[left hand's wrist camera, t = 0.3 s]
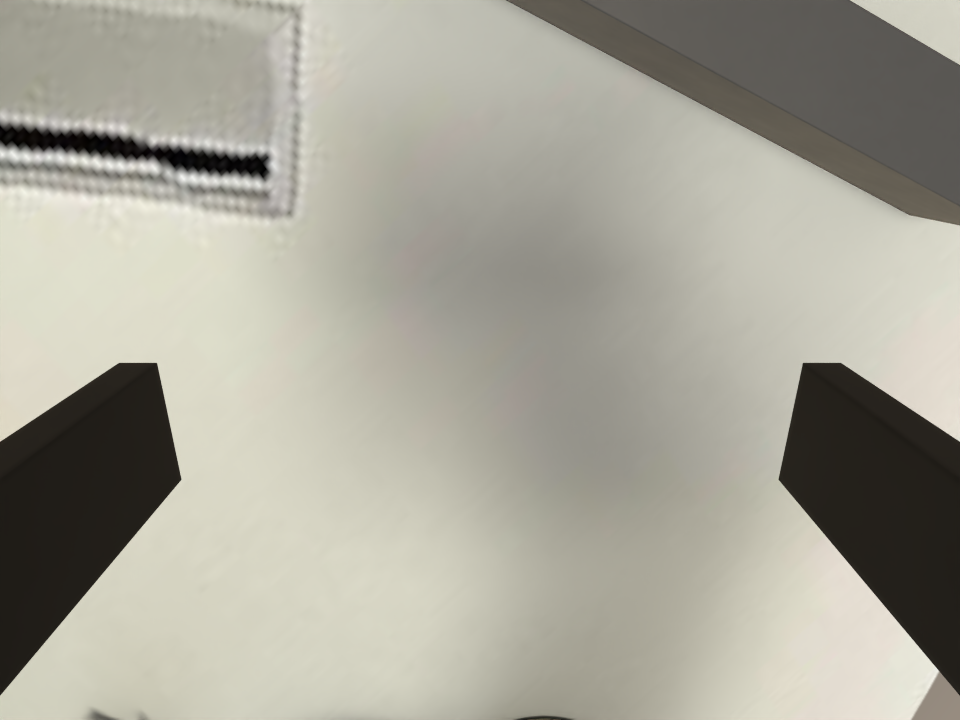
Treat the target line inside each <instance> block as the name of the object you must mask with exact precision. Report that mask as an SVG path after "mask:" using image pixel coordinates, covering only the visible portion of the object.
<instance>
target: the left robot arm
mask: <svg viewBox="0 0 960 720" xmlns="http://www.w3.org/2000/svg"><path fill="white" fill-rule="evenodd" d="M180 481H181V475H180V471H179V466H178V461H177V456H176V452H175V447H174V442H173V437H172V433H171V428H170V423H169V418H168V413H167V409H166V404H165V399H164V394H163V390H162V385H161V380H160V375H159V371H158V366H157V363H118V364H117V365H115V366H114V367H112V368H111V369H109V370H108V371H106V372H105V373H103V374H102V375H100V376H99V377H97V378H96V379H94V380H93V381H91V382H90V383H88V384H87V385H85V386H84V387H82V388H81V389H79V390H78V391H76V392H75V393H73V394H72V395H70V396H69V397H67V398H66V399H64V400H63V401H61V402H60V403H58V404H57V405H55V406H54V407H52V408H51V409H49V410H48V411H46V412H45V413H43V414H42V415H40V416H39V417H37V418H35V419H34V420H32V421H31V422H29V423H28V424H26V425H25V426H23V427H22V428H20V429H19V430H17V431H16V432H14V433H13V434H11V435H10V436H8V437H7V438H5V439H4V440H2V441H1V442H0V695H1V694H2V693H3V692H4V690H5V689H6V688H7V687H8V686H9V684H10V683H11V682H12V681H13V680H14V678H15V677H16V676H17V675H18V674H19V672H20V671H21V670H22V669H23V668H24V667H25V665H26V664H27V663H28V662H29V661H30V659H31V658H32V657H33V656H34V655H35V653H36V652H37V651H38V650H39V649H40V647H41V646H42V645H43V644H44V643H45V641H46V640H47V639H48V638H49V637H50V636H51V634H52V633H53V632H54V631H55V630H56V628H57V627H58V626H59V625H60V624H61V622H62V621H63V620H64V619H65V618H66V616H67V615H68V614H69V613H70V612H71V611H72V609H73V608H74V607H75V606H76V605H77V603H78V602H79V601H80V600H81V599H82V597H83V596H84V595H85V594H86V593H87V591H88V590H89V589H90V588H91V587H92V585H93V584H94V583H95V582H96V581H97V580H98V578H99V577H100V576H101V575H102V574H103V572H104V571H105V570H106V569H107V568H108V566H109V565H110V564H111V563H112V562H113V560H114V559H115V558H116V557H117V556H118V555H119V553H120V552H121V551H122V550H123V549H124V547H125V546H126V545H127V544H128V543H129V541H130V540H131V539H132V538H133V537H134V535H135V534H136V533H137V532H138V531H139V530H140V528H141V527H142V526H143V525H144V524H145V522H146V521H147V520H148V519H149V518H150V516H151V515H152V514H153V513H154V512H155V510H156V509H157V508H158V507H159V506H160V504H161V503H162V502H163V501H164V500H165V499H166V497H167V496H168V495H169V494H170V493H171V491H172V490H173V489H174V488H175V487H176V485H177V484H178V483H179V482H180ZM779 481H780V482H781V483H782V484H783V485H784V487H785V488H786V489H787V490H788V491H789V493H790V494H791V495H792V496H793V497H794V499H795V500H796V501H797V502H798V503H799V504H800V506H801V507H802V508H803V509H804V510H805V512H806V513H807V514H808V515H809V516H810V518H811V519H812V520H813V521H814V522H815V524H816V525H817V526H818V527H819V528H820V530H821V531H822V532H823V533H824V534H825V535H826V537H827V538H828V539H829V540H830V541H831V543H832V544H833V545H834V546H835V547H836V549H837V550H838V551H839V552H840V553H841V555H842V556H843V557H844V558H845V559H846V560H847V562H848V563H849V564H850V565H851V566H852V568H853V569H854V570H855V571H856V572H857V574H858V575H859V576H860V577H861V578H862V580H863V581H864V582H865V583H866V584H867V585H868V587H869V588H870V589H871V590H872V591H873V593H874V594H875V595H876V596H877V597H878V599H879V600H880V601H881V602H882V603H883V605H884V606H885V607H886V608H887V609H888V611H889V612H890V613H891V614H892V615H893V616H894V618H895V619H896V620H897V621H898V622H899V624H900V625H901V626H902V627H903V628H904V630H905V631H906V632H907V633H908V634H909V636H910V637H911V638H912V639H913V640H914V641H915V643H916V644H917V645H918V646H919V647H920V649H921V650H922V651H923V652H924V653H925V655H926V656H927V657H928V658H929V659H930V661H931V662H932V663H933V664H934V665H935V667H936V668H937V669H938V670H939V671H940V672H941V674H942V675H943V676H944V677H945V678H946V680H947V681H948V682H949V683H950V684H951V686H952V687H953V688H954V689H955V690H956V692H957V693H958V694H959V695H960V442H959V441H958V440H956V439H955V438H953V437H952V436H950V435H949V434H947V433H946V432H944V431H943V430H941V429H940V428H938V427H937V426H935V425H934V424H932V423H931V422H929V421H928V420H926V419H925V418H923V417H921V416H920V415H918V414H917V413H915V412H914V411H912V410H911V409H909V408H908V407H906V406H905V405H903V404H902V403H900V402H899V401H897V400H896V399H894V398H893V397H891V396H890V395H888V394H887V393H885V392H884V391H882V390H881V389H879V388H878V387H876V386H875V385H873V384H872V383H870V382H869V381H867V380H866V379H864V378H863V377H861V376H860V375H858V374H857V373H855V372H854V371H852V370H851V369H849V368H848V367H846V366H845V365H843V364H842V363H803V366H802V371H801V375H800V380H799V385H798V390H797V394H796V399H795V404H794V409H793V413H792V418H791V423H790V428H789V432H788V437H787V442H786V447H785V452H784V456H783V461H782V466H781V471H780V475H779ZM529 720H559V719H529Z"/></svg>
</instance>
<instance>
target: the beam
mask: <svg viewBox="0 0 960 720" xmlns="http://www.w3.org/2000/svg"><path fill="white" fill-rule="evenodd" d="M507 1H509V2H511V3H513V4H515V5H517V6H519V7H520V8H522V9H524V10H526V11H528V12H530V13H532V14H534V15H535V16H537V17H539V18H541V19H543V20H545V21H547V22H549V23H550V24H552V25H554V26H556V27H558V28H560V29H562V30H564V31H565V32H567V33H569V34H571V35H573V36H575V37H577V38H579V39H580V40H582V41H584V42H586V43H588V44H590V45H592V46H594V47H595V48H597V49H599V50H601V51H603V52H605V53H607V54H609V55H611V56H612V57H614V58H616V59H618V60H620V61H622V62H624V63H626V64H627V65H629V66H631V67H633V68H635V69H637V70H639V71H641V72H642V73H644V74H646V75H648V76H650V77H652V78H654V79H656V80H657V81H659V82H661V83H663V84H665V85H667V86H669V87H671V88H672V89H674V90H676V91H678V92H680V93H682V94H684V95H686V96H687V97H689V98H691V99H693V100H695V101H697V102H699V103H701V104H702V105H704V106H706V107H708V108H710V109H712V110H714V111H716V112H718V113H719V114H721V115H723V116H725V117H727V118H729V119H731V120H733V121H734V122H736V123H738V124H740V125H742V126H744V127H746V128H748V129H749V130H751V131H753V132H755V133H757V134H759V135H761V136H763V137H764V138H766V139H768V140H770V141H772V142H774V143H776V144H778V145H779V146H781V147H783V148H785V149H787V150H789V151H791V152H793V153H794V154H796V155H798V156H800V157H802V158H804V159H806V160H808V161H809V162H811V163H813V164H815V165H817V166H819V167H821V168H823V169H824V170H826V171H828V172H830V173H832V174H834V175H836V176H838V177H840V178H841V179H843V180H845V181H847V182H849V183H851V184H853V185H855V186H856V187H858V188H860V189H862V190H864V191H866V192H868V193H870V194H871V195H873V196H875V197H877V198H879V199H881V200H883V201H885V202H886V203H888V204H890V205H892V206H894V207H896V208H898V209H900V210H901V211H903V212H905V213H907V214H909V215H912V216H917V217H922V218H927V219H932V220H936V221H941V222H946V223H951V224H956V225H960V65H959V64H957V63H955V62H954V61H952V60H950V59H948V58H947V57H945V56H943V55H942V54H940V53H938V52H937V51H935V50H933V49H931V48H930V47H928V46H926V45H925V44H923V43H921V42H920V41H918V40H916V39H915V38H913V37H911V36H909V35H908V34H906V33H904V32H903V31H901V30H899V29H898V28H896V27H894V26H892V25H891V24H889V23H887V22H886V21H884V20H882V19H881V18H879V17H877V16H875V15H874V14H872V13H870V12H869V11H867V10H865V9H864V8H862V7H860V6H858V5H857V4H855V3H853V2H852V1H850V0H507Z"/></svg>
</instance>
